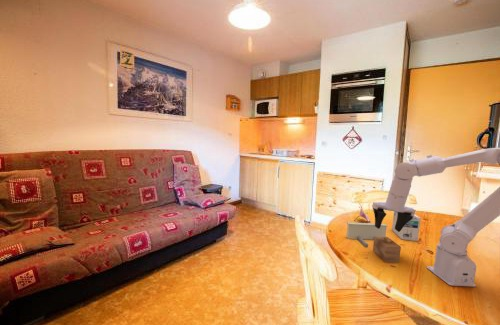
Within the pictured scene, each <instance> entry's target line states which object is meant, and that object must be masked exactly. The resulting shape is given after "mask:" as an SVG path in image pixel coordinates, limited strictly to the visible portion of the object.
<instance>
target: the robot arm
mask: <svg viewBox="0 0 500 325" xmlns="http://www.w3.org/2000/svg"><path fill="white" fill-rule="evenodd" d="M477 163H484V164H490V165H495V166H496V165H497V164H498V165H499V166H500V147H491V148H483V149H478V150H474V151H469V152H465V153H461V154H456V155H452V156H447V157H441V156H438V155H432V154H429V155H426V157H424V158H420V159H409V161H404V162H401V163H399V164H397V165H396V166H395V167H394V168H395V169H394V173H395V174H394V176H393V180H392V181H391V184H390V188H389V190H388V194H387V197H386V200H385V202H378V201H377V202H376V201H374V202H373V203H372V205H371V207H372V209H373V210H372V211H373V215H374V224H375V227H377V228H378V229H379V228H380V227H381V224H383V221H384V219H385V217H386V216H387V213H386V212H385V211H389V212H394V211H395V212H398V216H397V221H396V225H395V229H396V230H397V231H398V232H400V231H401V229H402V228H403V227H404V225H405V224H406V223H407V222H409V221H410V220H412V219H413V216H412V215H414V214H415V213H416V209H414V208H413V207H408V206H405V205H406V203H407V200H408V197H409V193H410V192H411V191H410V190H411V187H412V182H413V179H414V177H415V176H416V177H419V178H420V177H425V176H430V175H436V174H441V173H443V172H444V171H445V170H446V169H447V168H452V167H458V166H465V165H472V164H477ZM415 215H416V214H415ZM498 217H500V186H499V187H498V188H497V189H496V190H494V191H493V192H492V193H491V194H489V195H488V196H486V198H485V199H484V200H482V201H481V202H479V204H478V205H476V206H475V207H474V208H473V209H471V210H470V211H469V212H468V213H466V215H464V216H463V217H462V218H461V219H458V220H457V221H456V220H455V222H454V223H453V224H449V225H448V224H447V225H446V226H443V227H442V228H441V230H440V237H439V242H437V244H436V249H435V250H436V251H435V255H434V256H435V257H434V264H433V266H430V265H429V266H428V265H427V266H426V269H427V270H429V271H430V272H432V273H433V274H434V275H435V276H437V277H438V278H439V279H441V280H442V281H444V282H445V283H447V285H449V286H453V287H473V288H475V287H477V284H475V283H474V282H475V277H476V273H477V265H476V263H475V261H473V259H471V258H470V257H469V256H468V255H469V254H468V246H469V244H470V243H471V242H472V241H473V240H474V239H475V237H476V236H477V234H478V233H479V232H481V230H483V229H484V228H485V227H486V226H488V225H489V224H490V223H492V222H493V221H495V219H497V218H498Z"/></svg>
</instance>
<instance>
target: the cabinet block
mask: <svg viewBox="0 0 500 325" xmlns="http://www.w3.org/2000/svg"><path fill="white" fill-rule="evenodd" d="M372 244H373V245H372V252H373V253H375V255H377V257H378V258H380V259H381V260H382V261H383V262H384V263H396V264H399V263H400V259H401V258H400V257H401V250H402V247H401V246H400V245H399V244H398V243H396V242H395V241H394V240H392V239H391V238H390V237H389V236H385V237H382V236H374V240H373V242H372Z"/></svg>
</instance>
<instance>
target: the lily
mask: <svg viewBox="0 0 500 325" xmlns="http://www.w3.org/2000/svg"><path fill="white" fill-rule="evenodd" d="M358 203H359V205H360V206H358V207H359V209H360V212H359V215H358V216H357V217H356V218H355V219H354V220H353V222H355V221H356V220H357V219H359V217H361V218H363V219H365V220H366V221H367V223H370V220H371V219H370V218H369V216H368V215H367V214H368V212H364V210H363V207H362V206H361V205H362V204H361V203H360V202H358Z"/></svg>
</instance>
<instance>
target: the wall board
mask: <svg viewBox="0 0 500 325" xmlns="http://www.w3.org/2000/svg"><path fill="white" fill-rule="evenodd" d="M346 224H347V228H346V238H347V240H348V239H349V240H350V239H353V240H357V241H358V242H359V243H360V244H362V245H363V247H364V248H368V247H369V244H368V243H367V242H366V241H365V240H370V241H371V240H372V241H374V236H382V237H387V236H386V235H387V228H388V225H387V224H386V223H382V224H381V227H380V228H379V229H378V228H377V227H375V222H374V223H373V222H372V223H371V222H349V221H348V222H347V223H346Z"/></svg>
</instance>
